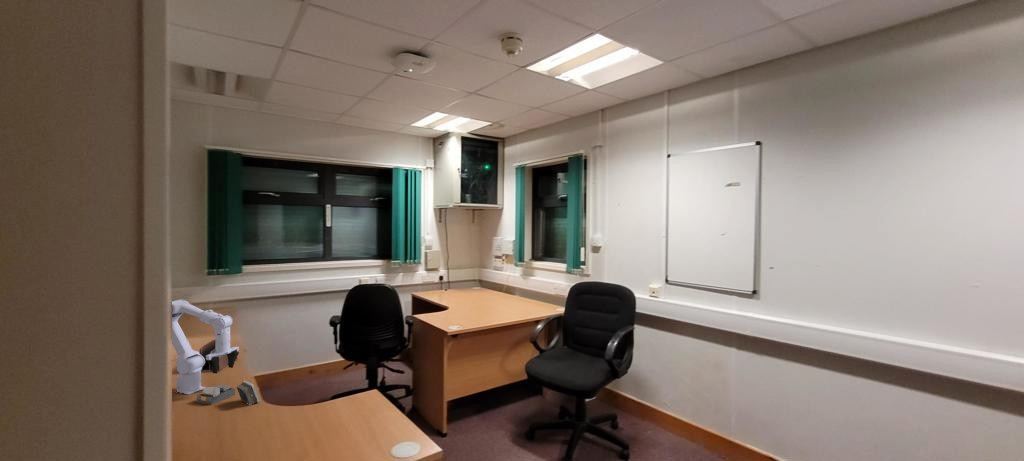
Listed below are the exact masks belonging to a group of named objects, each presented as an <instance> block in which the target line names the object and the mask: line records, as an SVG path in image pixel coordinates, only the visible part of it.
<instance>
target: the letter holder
mask: <svg viewBox="0 0 1024 461" xmlns="http://www.w3.org/2000/svg"><path fill="white" fill-rule="evenodd" d="M215 343H216V340H215V339H213V340H211V341H209V342H207V343H205V344H203V345H202V346H201V347H200V348H199V353H200V355H201V356H203V357H204V359H205V364H204V366H203V367H202V369H201V373H213V372H212V369H211V366H210V365H209V363H208V362H207V360H206V355H209V354H211V353H214V352H216V344H215ZM216 358H217V359H220V360H219V363H218V372H221V371H222V370H224V369H225V368H227V367H229V366H228V357H227V354H225V355H222V356H219V357H216ZM237 360H238V357H237V358H236V360H235V362H236V361H237Z"/></svg>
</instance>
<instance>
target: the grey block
mask: <svg viewBox="0 0 1024 461" xmlns="http://www.w3.org/2000/svg"><path fill="white" fill-rule="evenodd" d="M202 393H203V396H207V397H214V396H216V395H219V394H220V388H217V387H215V386H208V387H206V388H204V389H202Z"/></svg>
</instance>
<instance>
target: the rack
mask: <svg viewBox="0 0 1024 461" xmlns="http://www.w3.org/2000/svg"><path fill="white" fill-rule="evenodd" d="M214 387H217V388H220V394H219V395H216V396H214V397H207V396H203V392H202V393H199V394H197V395H196V403H200V404H205V405H209V406H211V405H215V404H217V403H219V402H222V401H224V400H225V399H226V400H227V399H228V398H230V397H233V396H235V395H236V389H235V388H234V387H231V386H230V385H227V384H221V383H220V384H218V385H215V386H214Z"/></svg>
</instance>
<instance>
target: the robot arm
mask: <svg viewBox="0 0 1024 461" xmlns="http://www.w3.org/2000/svg"><path fill="white" fill-rule="evenodd" d="M184 313H185V314H187V315H191V316H194V317H197V318H198V319H199V321H200V322H203V323H205V324H206V325H210V326H212V329H213V330H214V335H215V337H214V338H215V339H214V340H216V343H215V344H216V352H214V353H211V354H209V355H206V360H207V362H208V363H209V365H210V366H211V369H212V372H211V373H212V374H214V375H215V374H218V373H219V371H218V363H219V360H220V359H217V358H216V357H219V356H222V355H225V354H227V357H228V366H227V367H228V368H230V369H232V368H234V365H235V362H236V361H237V360H236V358H237V359H238V357H239V354H240V353H239V350H240V346H232V347H231V326H232V325H233V324H234V319H233V317H232V316H230V315H229V314H226V315H223V314H222V313H219V312H216V311H214V310H213V309H205V310H203V309H202V308H199V307H197V306H195V305H193V304H192V303H189V301H187V300H185V299H183V298H181V299H180V298H179V299H177V300H172V343H171V344H172V347H173V348H174V351H176V354H177V356H178V357H177V358H176V359H175V364H176V370H177V373H178V374H177V375H176V390H178V391H179V392H180V393H179V394H182V393H184V395H191V394H194V393H196V392H199V391H201V390H202V391H203V389H205V388H207V387H206V386H203V385H202V372H201V369H202V367H203V366H204V364H205V359H204V357H203V356H201V355H200V351H197V350H194V349H193V348H192V346H191V344H190V342H189V340H188V338H187V337H186V335H185V333H184V331H183V328H181V326H180V324H179V322H178V321H179V319H180V317H181V316H182V315H183V314H184ZM235 360H236V361H235Z"/></svg>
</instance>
